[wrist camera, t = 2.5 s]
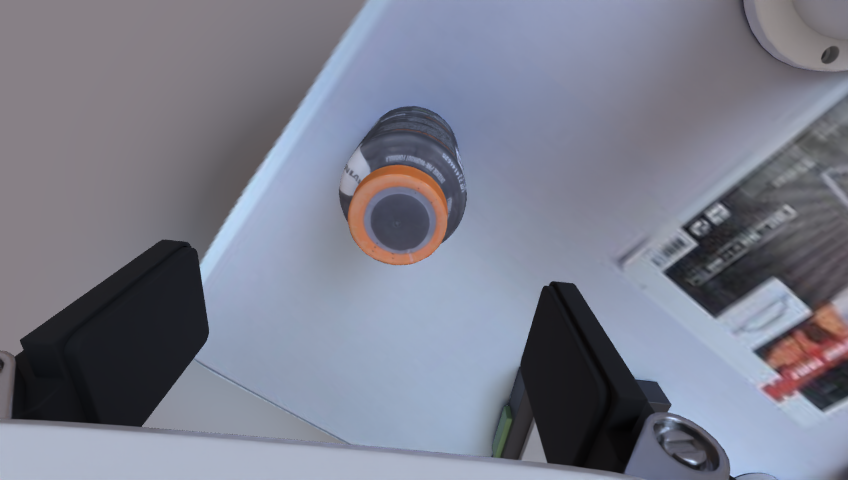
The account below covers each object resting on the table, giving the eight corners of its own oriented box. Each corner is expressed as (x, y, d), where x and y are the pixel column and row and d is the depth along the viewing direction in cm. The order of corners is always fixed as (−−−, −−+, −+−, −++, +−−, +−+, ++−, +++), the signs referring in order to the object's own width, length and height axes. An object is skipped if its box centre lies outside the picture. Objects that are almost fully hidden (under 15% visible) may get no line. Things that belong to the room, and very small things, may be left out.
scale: (513, 365, 33) (520, 393, 31) (656, 381, 34) (676, 410, 31) (482, 469, 39) (486, 500, 37) (604, 482, 40) (616, 513, 37)
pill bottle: (347, 149, 25) (289, 216, 15) (414, 83, 24) (398, 111, 13) (410, 212, 27) (395, 311, 17) (477, 156, 25) (503, 229, 15)
